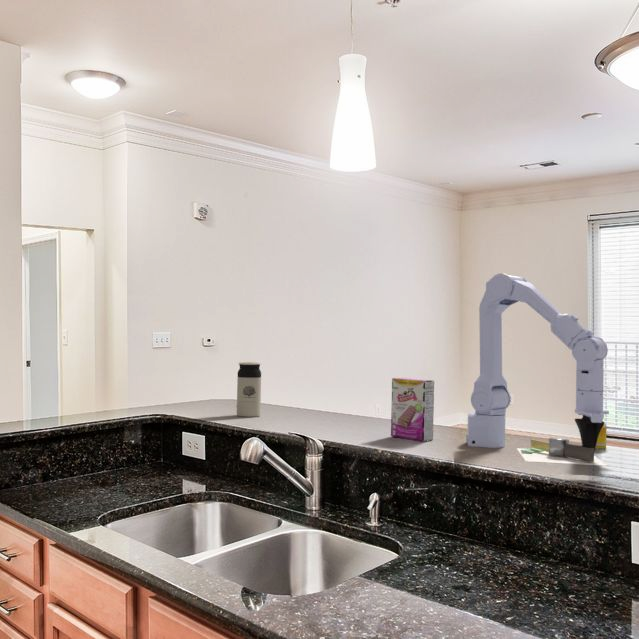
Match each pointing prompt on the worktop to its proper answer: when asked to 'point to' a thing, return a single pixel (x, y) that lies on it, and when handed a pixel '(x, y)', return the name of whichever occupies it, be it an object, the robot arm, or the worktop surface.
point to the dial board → (553, 457)
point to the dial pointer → (565, 449)
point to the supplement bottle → (602, 437)
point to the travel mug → (249, 389)
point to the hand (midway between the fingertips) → (588, 450)
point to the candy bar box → (412, 408)
